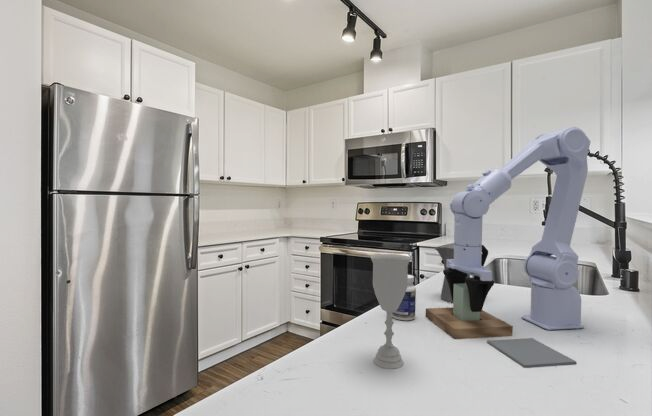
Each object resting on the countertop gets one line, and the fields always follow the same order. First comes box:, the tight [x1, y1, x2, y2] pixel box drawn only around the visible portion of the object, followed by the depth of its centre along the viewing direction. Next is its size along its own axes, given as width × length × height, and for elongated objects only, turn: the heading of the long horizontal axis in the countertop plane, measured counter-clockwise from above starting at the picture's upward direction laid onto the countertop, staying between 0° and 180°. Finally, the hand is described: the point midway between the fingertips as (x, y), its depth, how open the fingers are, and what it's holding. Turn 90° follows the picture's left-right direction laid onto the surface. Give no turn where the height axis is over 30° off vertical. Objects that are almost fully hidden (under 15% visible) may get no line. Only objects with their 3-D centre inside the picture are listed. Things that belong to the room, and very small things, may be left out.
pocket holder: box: [425, 306, 513, 340], centre depth 75 cm, size 13×13×2 cm
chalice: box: [369, 253, 412, 370], centre depth 58 cm, size 7×7×18 cm
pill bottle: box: [392, 274, 417, 321], centre depth 80 cm, size 6×6×10 cm
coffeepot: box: [434, 242, 489, 304], centre depth 95 cm, size 15×9×18 cm, turn 94°
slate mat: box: [486, 337, 577, 368], centre depth 62 cm, size 10×10×1 cm
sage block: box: [452, 283, 480, 321], centre depth 75 cm, size 4×4×9 cm
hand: (466, 305), depth 75 cm, fingers open, 7 cm apart
